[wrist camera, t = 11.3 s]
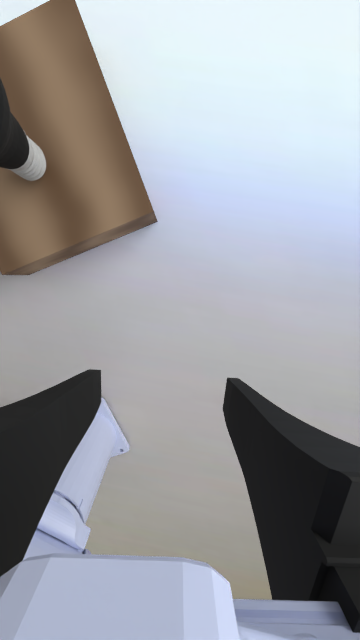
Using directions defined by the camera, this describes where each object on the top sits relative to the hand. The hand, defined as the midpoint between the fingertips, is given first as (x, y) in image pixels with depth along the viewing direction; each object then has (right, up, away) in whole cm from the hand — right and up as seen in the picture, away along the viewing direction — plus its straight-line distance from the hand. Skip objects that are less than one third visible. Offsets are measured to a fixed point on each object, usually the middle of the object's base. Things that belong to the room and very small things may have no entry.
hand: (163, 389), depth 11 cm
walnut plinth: (-10, +17, +7) cm, 21 cm away
